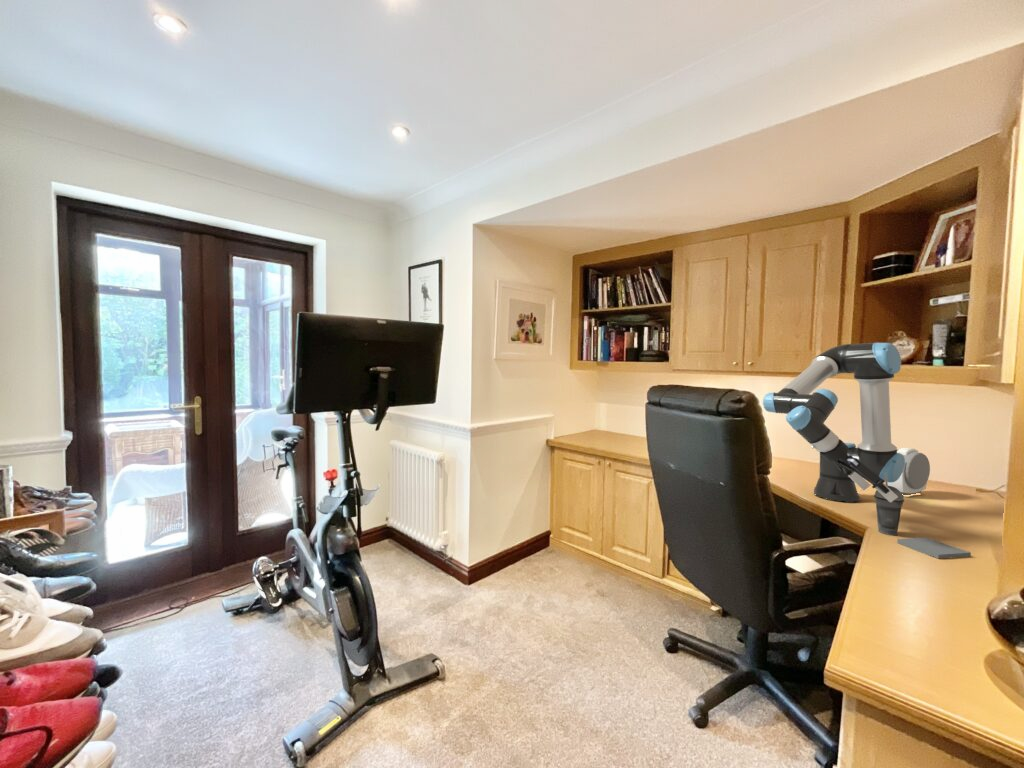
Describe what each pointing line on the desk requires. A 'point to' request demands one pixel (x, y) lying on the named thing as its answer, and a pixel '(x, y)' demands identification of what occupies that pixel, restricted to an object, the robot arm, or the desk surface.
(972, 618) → the desk surface
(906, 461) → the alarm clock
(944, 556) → the charcoal rubber mat
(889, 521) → the beverage cup
